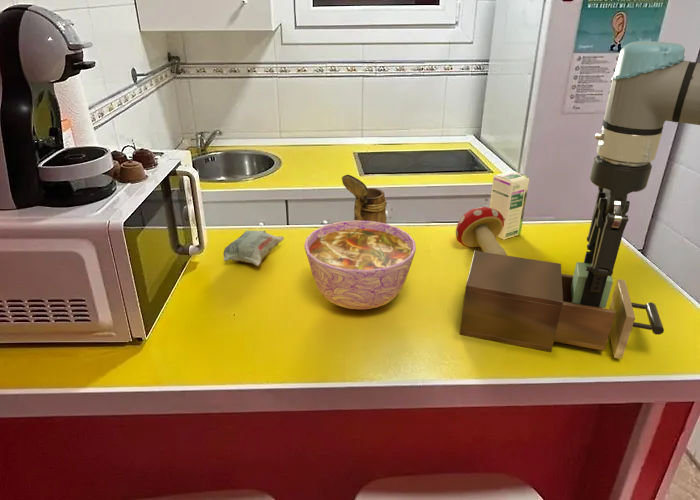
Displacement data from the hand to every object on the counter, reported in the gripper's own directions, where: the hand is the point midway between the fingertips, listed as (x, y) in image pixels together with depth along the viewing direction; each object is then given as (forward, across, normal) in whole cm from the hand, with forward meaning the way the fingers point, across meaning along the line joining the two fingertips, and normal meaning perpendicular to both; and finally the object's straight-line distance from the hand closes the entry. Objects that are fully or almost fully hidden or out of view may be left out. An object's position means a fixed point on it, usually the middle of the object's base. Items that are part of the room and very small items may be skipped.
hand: (588, 296), depth 85 cm
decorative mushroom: (+8, -24, -19) cm, 32 cm away
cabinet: (+8, 0, -12) cm, 14 cm away
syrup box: (+8, -37, -15) cm, 41 cm away
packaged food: (+8, -7, -65) cm, 66 cm away
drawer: (+7, 0, +2) cm, 7 cm away
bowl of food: (+8, +1, -39) cm, 40 cm away
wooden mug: (+8, -22, -45) cm, 51 cm away
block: (0, 0, 0) cm, 0 cm away
